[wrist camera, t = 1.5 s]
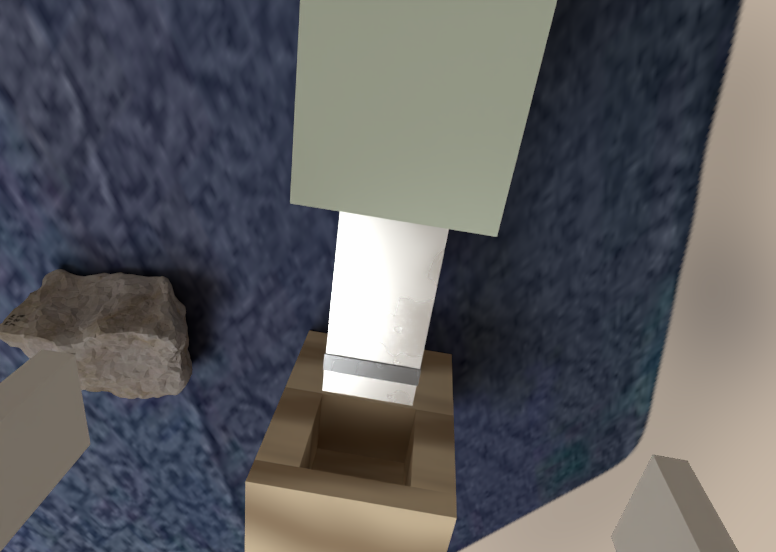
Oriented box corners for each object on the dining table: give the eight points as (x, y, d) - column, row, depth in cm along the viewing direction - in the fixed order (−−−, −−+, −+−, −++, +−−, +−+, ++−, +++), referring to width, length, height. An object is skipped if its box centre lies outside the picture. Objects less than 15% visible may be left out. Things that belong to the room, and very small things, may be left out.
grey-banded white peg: (388, -122, 16) (373, -159, 13) (508, -104, 16) (526, -137, 13) (337, 338, 25) (320, 391, 21) (417, 352, 25) (413, 406, 21)
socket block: (309, 330, 32) (245, 481, 22) (451, 354, 32) (456, 518, 21) (304, 390, 34) (245, 553, 24) (437, 412, 34) (436, 586, 24)
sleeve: (371, -106, 22) (310, -214, 12) (526, -83, 21) (601, -172, 11) (348, 132, 26) (290, 203, 16) (475, 152, 26) (496, 236, 16)
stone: (204, 382, 35) (161, 446, 30) (63, 346, 35) (-5, 404, 30) (212, 281, 31) (163, 334, 26) (53, 240, 31) (-26, 285, 26)
